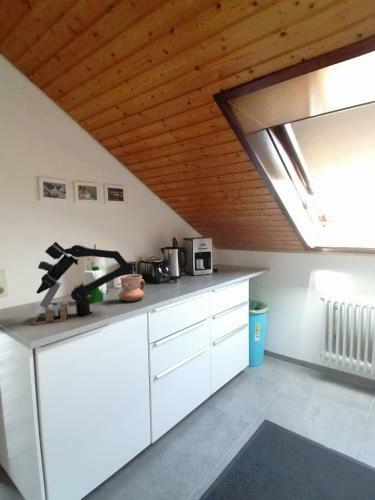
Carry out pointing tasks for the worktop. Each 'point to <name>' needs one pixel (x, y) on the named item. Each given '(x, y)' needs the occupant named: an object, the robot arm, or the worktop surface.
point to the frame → (50, 315)
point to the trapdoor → (51, 307)
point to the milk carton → (90, 276)
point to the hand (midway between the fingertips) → (39, 291)
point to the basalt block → (50, 295)
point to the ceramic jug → (131, 287)
